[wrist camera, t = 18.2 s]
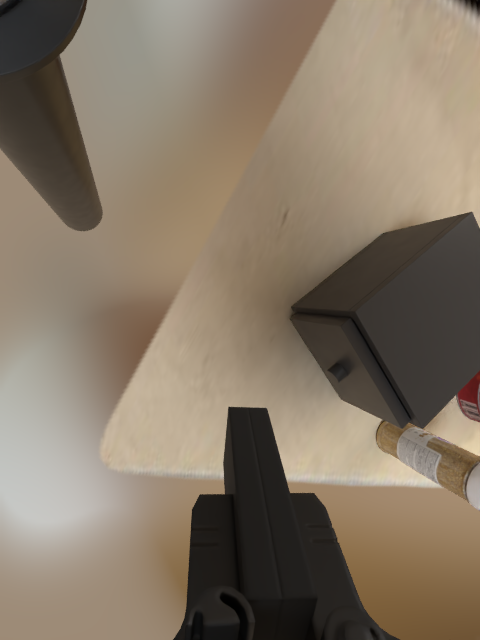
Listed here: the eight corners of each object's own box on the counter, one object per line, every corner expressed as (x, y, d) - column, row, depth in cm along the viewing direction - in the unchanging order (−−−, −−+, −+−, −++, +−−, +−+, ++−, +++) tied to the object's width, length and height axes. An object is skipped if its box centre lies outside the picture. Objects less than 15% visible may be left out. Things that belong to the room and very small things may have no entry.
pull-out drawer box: (333, 406, 37) (393, 438, 29) (280, 325, 34) (329, 335, 26) (419, 327, 40) (495, 335, 32) (377, 247, 38) (448, 233, 29)
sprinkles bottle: (407, 418, 42) (529, 471, 29) (399, 453, 42) (517, 522, 29) (379, 413, 40) (494, 467, 28) (370, 450, 40) (482, 521, 28)
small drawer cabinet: (346, 394, 39) (422, 429, 29) (290, 306, 36) (355, 311, 26) (427, 319, 42) (522, 327, 32) (383, 233, 39) (472, 211, 29)
